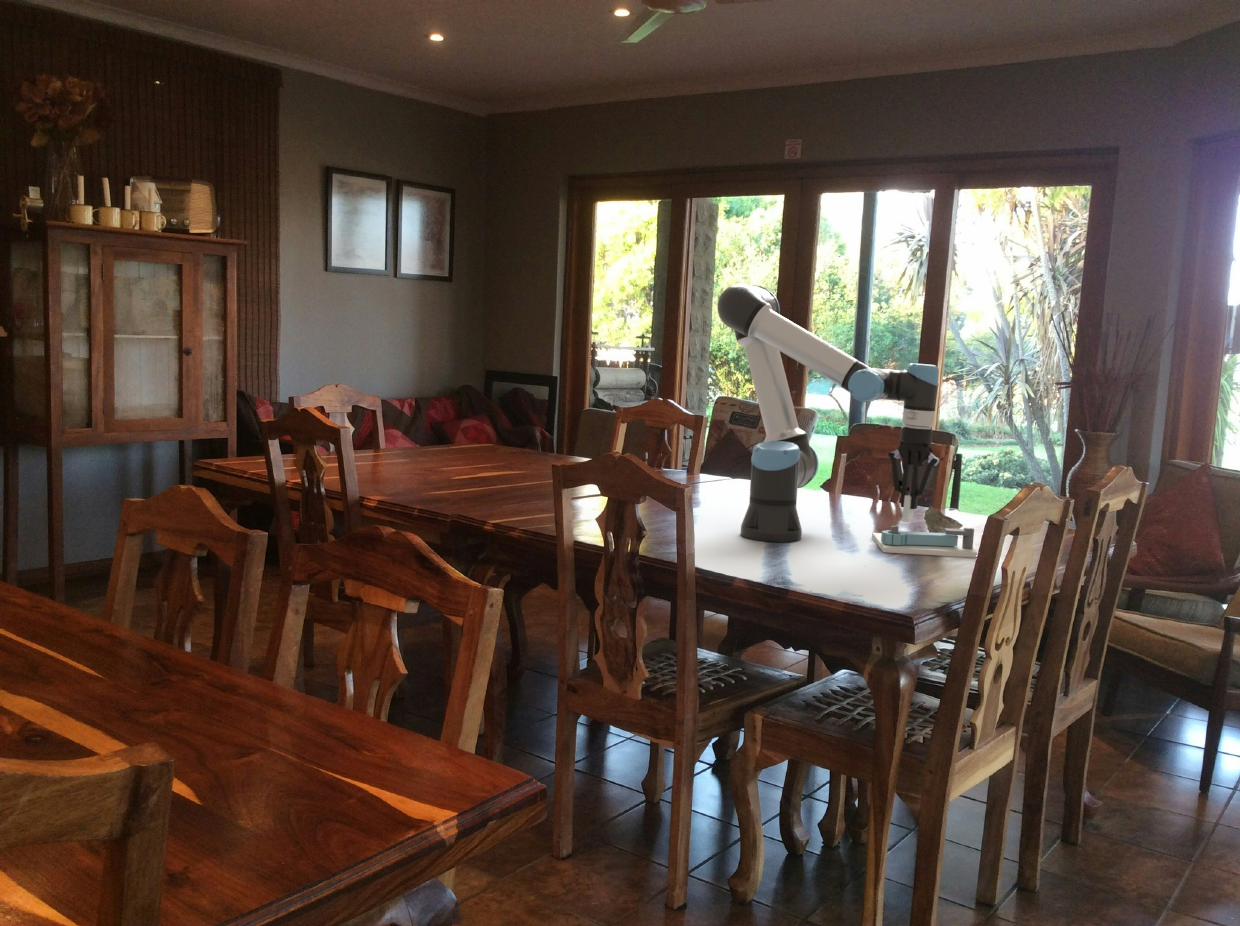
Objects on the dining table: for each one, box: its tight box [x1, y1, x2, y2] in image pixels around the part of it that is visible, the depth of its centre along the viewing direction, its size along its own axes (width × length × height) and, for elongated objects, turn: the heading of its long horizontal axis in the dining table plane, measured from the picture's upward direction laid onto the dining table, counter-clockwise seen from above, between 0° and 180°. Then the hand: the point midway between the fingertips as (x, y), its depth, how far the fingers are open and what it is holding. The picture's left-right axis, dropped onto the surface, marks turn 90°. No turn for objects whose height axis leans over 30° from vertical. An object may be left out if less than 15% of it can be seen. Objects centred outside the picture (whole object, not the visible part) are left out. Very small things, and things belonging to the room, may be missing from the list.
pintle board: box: [871, 525, 979, 559], centre depth 262 cm, size 22×19×6 cm
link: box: [881, 529, 959, 546], centre depth 259 cm, size 18×6×2 cm, turn 92°
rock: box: [923, 504, 963, 533], centre depth 278 cm, size 11×6×10 cm
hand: (907, 521), depth 266 cm, fingers closed
